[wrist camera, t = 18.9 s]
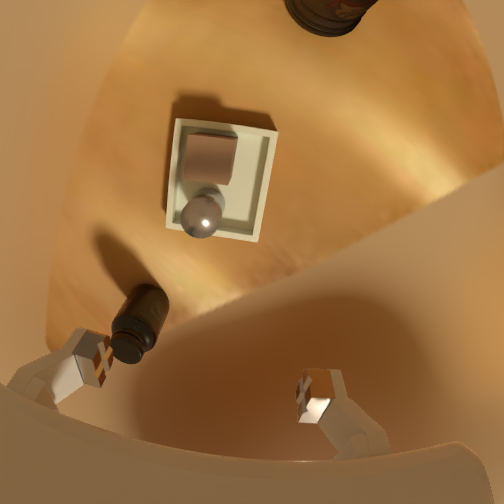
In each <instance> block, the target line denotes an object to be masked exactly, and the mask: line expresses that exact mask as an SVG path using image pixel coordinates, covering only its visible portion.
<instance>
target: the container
mask: <svg viewBox="0 0 504 504" xmlns="http://www.w3.org/2000/svg"><path fill="white" fill-rule="evenodd" d="M377 1H378V0H288V10H289V12H290V14H291V16H292V18H293V19H294V20H295V21H296V23H297V24H298V25H300V26H301V27H302V28H303V29H305V30H307V31H309V32H311V33H313V34H316V35H319V36H325V37H337V36H342V35H345V34H347V33H349V32H351V31H352V30H353V29H354V28H355V27H356V26H357V24H358V23H359V22H360V20H361V18H362V17H363V16H364V14H365V13H366V11H367V10H368V9H369V8H370V7H371V6H372V5H374V4H375V3H376V2H377Z"/></svg>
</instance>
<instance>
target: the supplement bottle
mask: <svg viewBox="0 0 504 504" xmlns="http://www.w3.org/2000/svg"><path fill="white" fill-rule="evenodd" d="M168 311H169V301H168V298H167V296H166V295H165V294H164V293H163V291H161V290H160V289H159V288H157V287H155V286H153V285H149V284H142V285H138V286H136V287H135V288H134V289H133V290H132V291H131V292H130V294H129V295H128V297H127V299H126V300H125V302H124V303H123V305H122V307H121V308H120V310H119V311H118V313H117V315H116V316H115V318H114V320H113V322H112V326H111V329H112V334H113V335H112V337H111V344H110V347H111V348H112V349H113V356H114V357H115V358H117V359H118V360H120V361H121V362H124V363H127V364H136V363H138V362H140V360H141V359H142V356H143V355H144V353H145V352H147V351H149V350H151V349H152V348H153V347H154V346H155V344H156V341H157V339H158V336H159V334H160V331H161V329H162V327H163V324H164V322H165V319H166V317H167V314H168Z"/></svg>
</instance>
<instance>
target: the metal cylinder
mask: <svg viewBox="0 0 504 504" xmlns="http://www.w3.org/2000/svg"><path fill="white" fill-rule="evenodd" d="M224 209H225V199H224V197H223V195H222V194H221V193H220V192H219V191H218V190H216V189H214V188H210V187H206V188H202V189H199V190H198V191H197V192H196V193H195V194H194V195H193V196H192V198H191V199H190V200H189V201H188V203H187V204H186V205H185V207H184V208H183V209H182V211H181V215H180V222H181V225H182V227H183V229H184V230H185V232H186V233H188V234H189V235H190V236H192V237H195V238H207V237H209V236H211V235H213V234H214V233H215V232H216V230H217V229H218V226H219V223H220V221H221V218H222V215H223V212H224Z"/></svg>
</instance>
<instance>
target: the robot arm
mask: <svg viewBox="0 0 504 504" xmlns="http://www.w3.org/2000/svg"><path fill="white" fill-rule="evenodd" d="M110 344H111V339H110V336H108V335H105V334H102V333H98V332H95V331H92V330H88V329H85V328H82V327H78V328H76V329H75V331H74V332H73V334H72V335H71V336H70V338H69V339H68V341H67V342H66V344H65V345H64V347H63V348H62V350H56V351H54V352H52V353H50V354H48V355H46V356H44V357H41V358H39V359H37V360H35V361H33V362H31V363H29V364H26V365H24V366H22V367H20V368H19V369H18V370H17V371H16V373H15V374H14V376H13V377H12V379H11V380H10V382H9V383H8V385H7V386H4V385H2V384H1V383H0V504H494V500H493V495H492V491H491V487H490V483H489V480H488V477H487V473H486V470H485V467H484V464H483V462H482V460H481V458H480V457H479V456H478V455H477V454H476V453H475V452H474V451H472V450H471V449H470V448H469V447H467V446H466V445H464V444H463V443H461V442H459V441H453V442H449V443H445V444H440V445H436V446H432V447H428V448H423V449H418V450H413V451H408V452H402V453H396V454H392V452H391V448H390V445H389V441H388V438H387V434H386V431H385V430H384V429H382V428H381V427H380V426H379V425H378V424H377V423H376V422H375V421H374V420H373V419H372V418H370V417H369V416H368V415H367V414H366V413H365V412H364V411H363V410H362V409H361V408H360V407H359V406H358V405H357V404H356V403H355V402H354V401H353V400H352V399H348V397H347V393H346V390H345V385H344V382H343V378H342V374H341V371H340V370H327V369H312V368H305V369H304V370H303V373H302V379H301V380H299V382H298V385H297V389H296V402H297V403H298V404H299V407H298V409H297V415H298V422H303V423H318V425H319V427H320V428H321V430H322V431H323V432H324V434H325V435H326V436H327V438H328V439H329V440H330V441H331V443H332V444H333V445H334V447H335V448H336V449H337V451H338V454H337V455H336V456H335V457H334V458H333V459H332V460H321V461H282V460H281V461H279V460H261V459H246V458H236V457H227V456H219V455H212V454H205V453H198V452H193V451H187V450H182V449H177V448H172V447H167V446H163V445H158V444H154V443H149V442H146V441H142V440H138V439H134V438H131V437H127V436H123V435H120V434H117V433H114V432H111V431H108V430H104V429H101V428H98V427H96V426H93V425H90V424H87V423H84V422H82V421H79V420H76V419H74V418H71V417H68V416H66V415H64V414H61V413H60V411H59V409H58V408H57V406H56V404H57V403H58V402H60V401H61V400H62V399H64V398H65V397H66V396H68V395H70V394H71V393H72V392H74V391H75V390H76V389H78V388H79V387H81V386H82V385H84V383H85V384H88V385H91V386H95V387H98V388H101V387H102V385H103V383H104V381H105V379H106V375H105V372H107V371H109V370H110V368H111V366H112V363H113V349H112V348H111V347H110Z"/></svg>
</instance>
